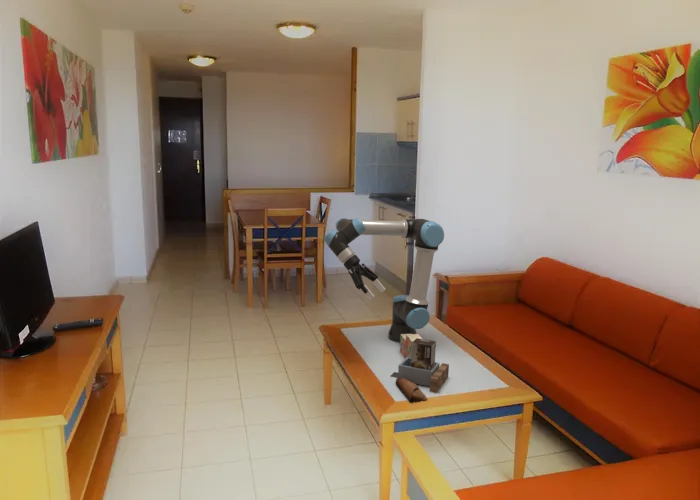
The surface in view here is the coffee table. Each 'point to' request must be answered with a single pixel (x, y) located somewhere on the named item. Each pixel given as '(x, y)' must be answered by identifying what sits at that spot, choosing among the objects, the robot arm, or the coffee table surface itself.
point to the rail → (395, 375)
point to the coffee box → (423, 354)
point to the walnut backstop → (439, 377)
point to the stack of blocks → (407, 344)
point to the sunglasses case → (410, 390)
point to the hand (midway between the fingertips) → (377, 294)
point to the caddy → (415, 372)
